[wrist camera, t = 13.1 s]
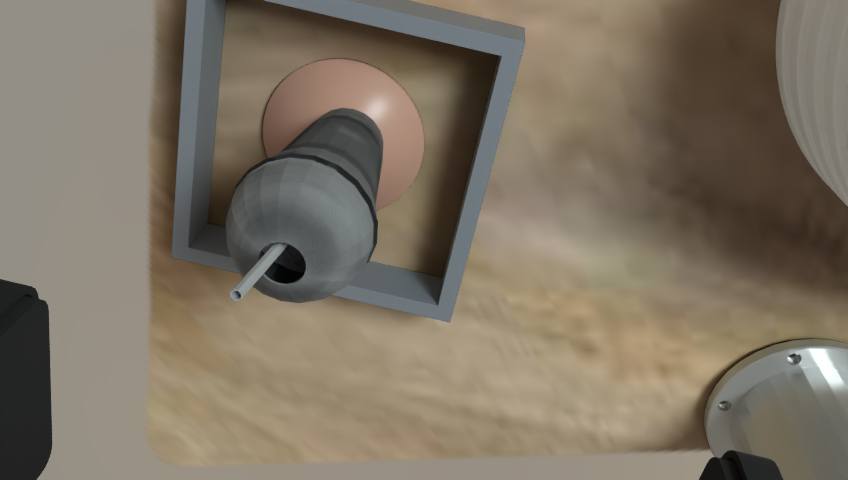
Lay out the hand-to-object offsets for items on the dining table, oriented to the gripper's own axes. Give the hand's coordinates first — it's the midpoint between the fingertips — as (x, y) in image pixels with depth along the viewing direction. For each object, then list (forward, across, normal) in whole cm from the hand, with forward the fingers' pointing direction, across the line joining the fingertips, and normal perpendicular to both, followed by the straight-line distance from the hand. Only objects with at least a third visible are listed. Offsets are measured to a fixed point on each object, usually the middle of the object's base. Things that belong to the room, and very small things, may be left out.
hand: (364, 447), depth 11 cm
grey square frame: (+36, +6, +10) cm, 38 cm away
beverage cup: (+36, +6, +10) cm, 38 cm away
